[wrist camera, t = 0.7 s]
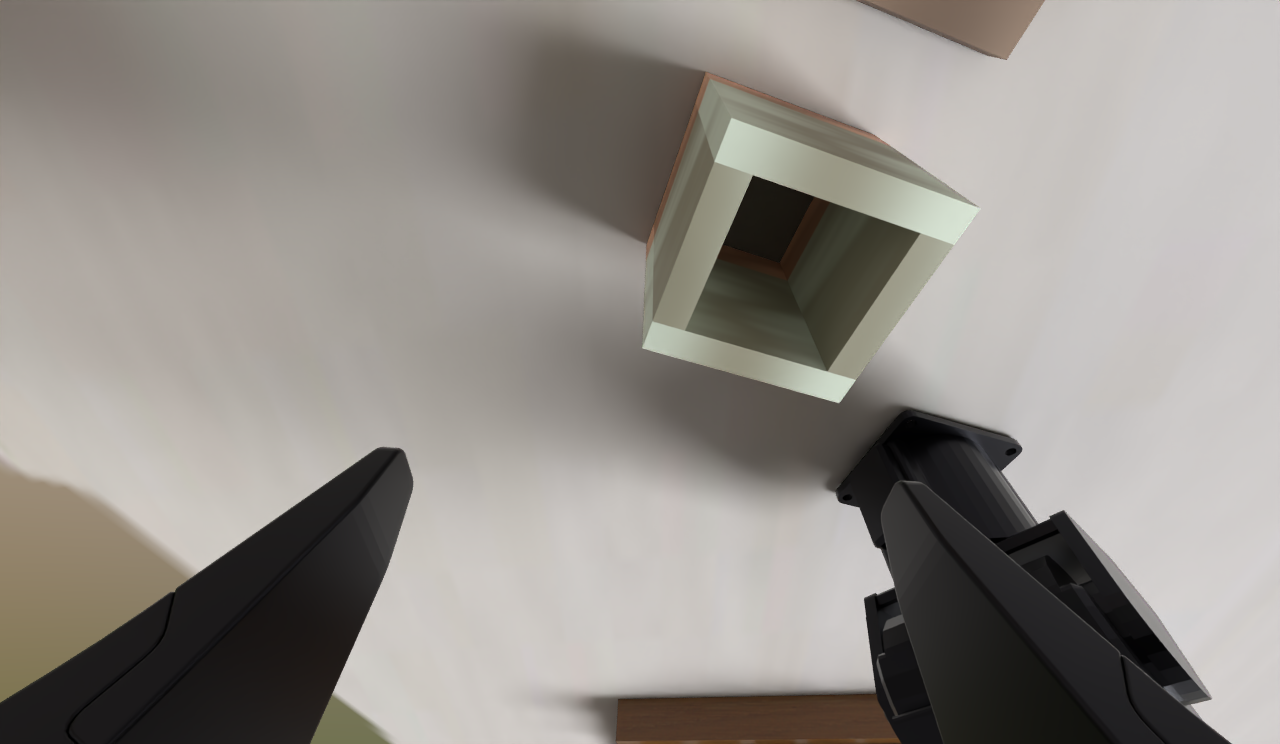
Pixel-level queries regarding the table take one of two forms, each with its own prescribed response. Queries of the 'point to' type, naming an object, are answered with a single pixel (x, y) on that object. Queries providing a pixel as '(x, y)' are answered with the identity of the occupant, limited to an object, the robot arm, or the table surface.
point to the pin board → (968, 20)
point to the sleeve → (791, 244)
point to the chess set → (754, 720)
